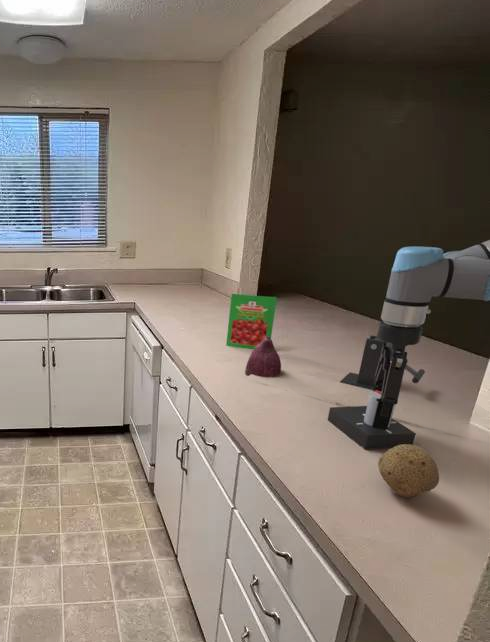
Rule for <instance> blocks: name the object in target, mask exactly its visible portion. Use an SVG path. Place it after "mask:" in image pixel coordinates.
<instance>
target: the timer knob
mask: <svg viewBox="0 0 490 642" xmlns="http://www.w3.org/2000/svg"><path fill="white" fill-rule="evenodd" d="M381 393H382V392H381V391H378V390H375V391H373V390H372V391H371V392H369V397H368V400H367V404H366V406H367V409H366V413H365V417H364V422H365V423H366V424H367V425H369V426H372V425H373V421H374V417H375V412H376V408H377V404H378V401H376V398H378V399H380V398H381ZM395 407H396V404H394V405H393V409H392V413H391V417H390V421H389V425H388V428H389V426H390V423H391V419H392V418H393V415H394V410H395Z"/></svg>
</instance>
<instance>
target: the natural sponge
mask: <svg viewBox="0 0 490 642" xmlns="http://www.w3.org/2000/svg"><path fill="white" fill-rule="evenodd" d="M377 465H378V471H379V474H380V476H381V477H382V480H383V481H384V482H385V483H386V485H387V486H389V488H390V489H391V490H392V491H393V492H394V493H395V494H397V495H398V496H401V497H404V498H411V497H416V496H418V495H421V494H423V493H427V492H430V491H432V490H434V489H435V488H436V487H437V486H438V485H439V482H440V473H439V468H438V464H437V463H436V461H435V460H434V458H433V457H432V456H431V455H430V454H429V453H427V451H425V450H424V449H423V448H422V447H420V446H418V445H415V444H413V445H409V444H402V445H398V446H395V447H393V448H389V449H388V450H387V451H386V452H384V454H382V455H381V456H380V457H379V459H378V461H377Z"/></svg>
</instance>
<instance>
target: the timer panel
mask: <svg viewBox="0 0 490 642" xmlns="http://www.w3.org/2000/svg"><path fill="white" fill-rule="evenodd" d="M366 409H367V405H356V406H336V407H335V406H331V407H329V411H328V415H327V421H328V422H330V424H332V425H333V426H334V427H336V428H337V429H338V430H339V431H341V432H342V433H343V434H344V435H346V436H347V437H348V438H349V439H351V440H352V441H354V443H355V444H357V445H359V447H361V446H362V447H363V448H362V447H361V448H362V449H363V450H381V449H382V450H384V449H391V448H393V447H395V446H398V445H402V444H409V445H414V442H415V439H416V435H417V433H416V432H415V431H413V430H411V428H408V426H405V425H404V424H402V423H401V422H399V421H397V420H396V419H394V418H393V417H392V419H391V423H390V426H389V428H387V430H385V429H379V428H373V427H372V426H369V425H367V424H366V423H365V422H364V417H365V413H366Z"/></svg>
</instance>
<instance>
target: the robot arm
mask: <svg viewBox="0 0 490 642" xmlns="http://www.w3.org/2000/svg"><path fill="white" fill-rule="evenodd" d="M433 297H434V298H435V297H436V298H451V299H462V300H463V299H465V300H479V301H484V302H488V301H490V239H488V240H485V241H483V242H481V243H478V244H475V245H472V246H470V247H467V248H464V249H461V250H452V251H451V250H450V251H448V252H445V253H444V250H443V249H442V247H441V248H440V247H432V246H403V247H401V248H400V249H398V251H397V253H396V254H395V259H394V262H393V265H392V268H391V272H390V276H389V281H388V285H387V291H386V296H385V299H384V300H383V301H384V302H383V306H382V310H381V315H380V320H381V322H379V325H378V328H377V329H378V330H377V333H376V336H377V338H378V339H379V340H381V341H383V347H382V351H381V355H380V359H379V363H378V366H377V370H376V374H375V376H374V379H375V382H374V383H375V385H377V386H374V389H373V390H372V392H373V391H375V390H378V391H381V392H382V393H381V398H380V399H378V398H376V401H378V404H377V408H376V412H375V417H374V421H373V425H372V427H373V428H379V429H385V430H387V428H388V425H389V421H390V417H391V413H392V409H393V405H394V404H395V405H397V404H398V402H399V396H400V392H401V387H402V382H403V378H404V373H405V371H406V369H405V367H406V364H407V365H408V362H409V361H408V351H406V347H408V346H415V345H418V344H419V343H420V341H421V337H422V334H423V330H424V327H423V326H422V325H423V324H425V321H426V317H427V316H426V315H428V314H431V312H432V310H431V309H430V308H429V306H430V304H431V300H432V298H433Z"/></svg>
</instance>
